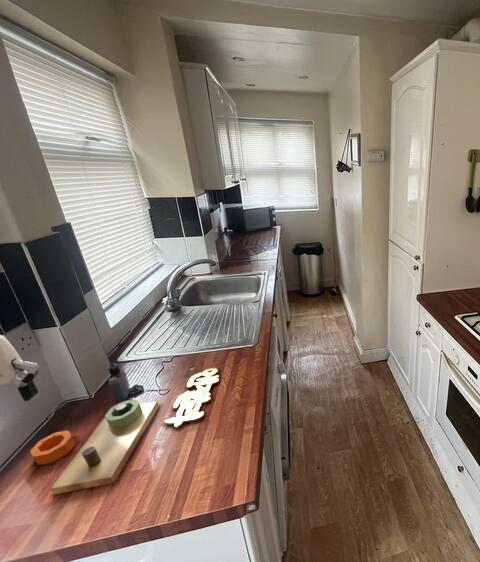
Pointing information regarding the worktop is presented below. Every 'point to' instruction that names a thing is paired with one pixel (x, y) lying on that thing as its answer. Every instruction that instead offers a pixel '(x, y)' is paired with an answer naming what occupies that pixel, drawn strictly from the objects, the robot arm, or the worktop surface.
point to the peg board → (104, 452)
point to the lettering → (194, 398)
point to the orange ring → (43, 446)
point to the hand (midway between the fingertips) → (6, 400)
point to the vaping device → (117, 383)
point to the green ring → (124, 419)
